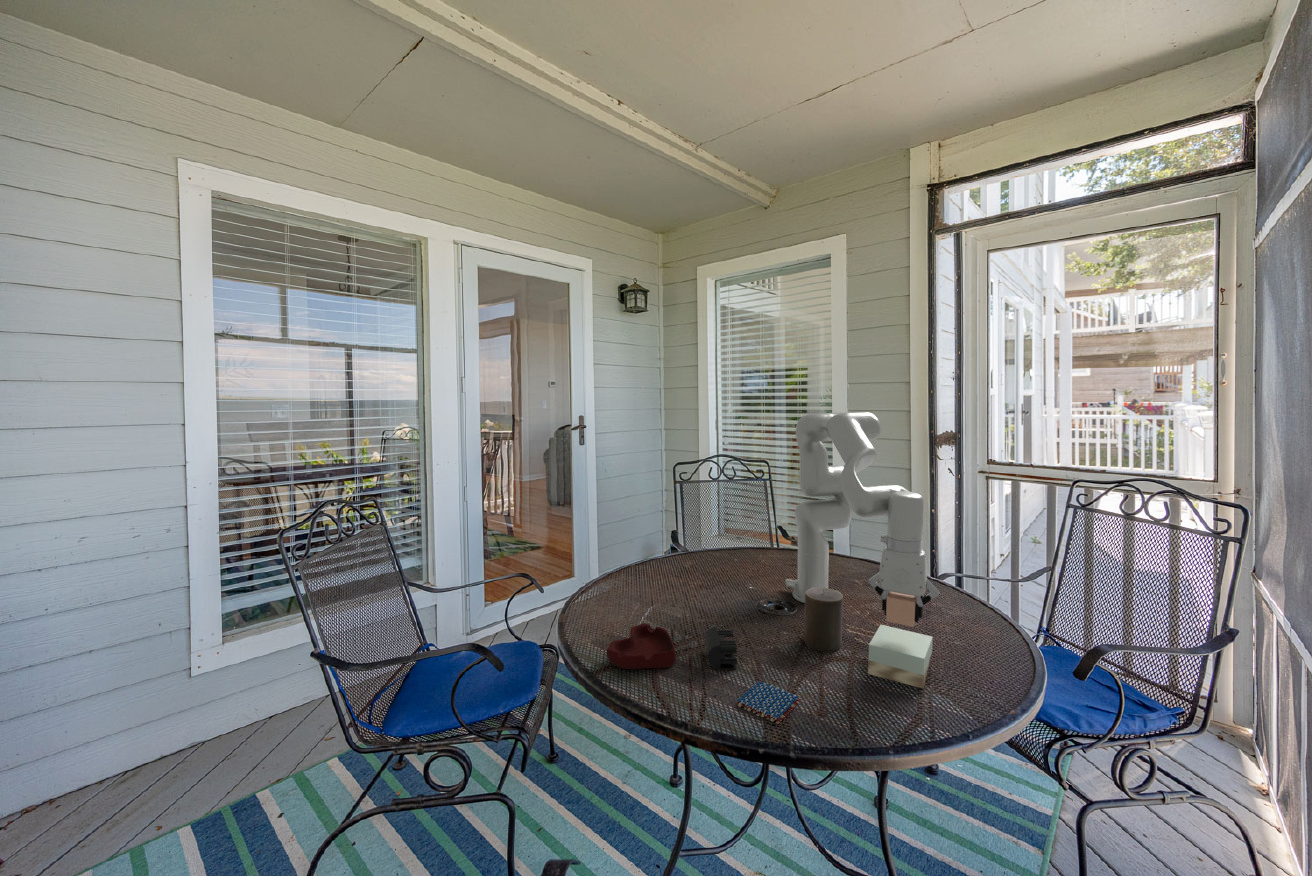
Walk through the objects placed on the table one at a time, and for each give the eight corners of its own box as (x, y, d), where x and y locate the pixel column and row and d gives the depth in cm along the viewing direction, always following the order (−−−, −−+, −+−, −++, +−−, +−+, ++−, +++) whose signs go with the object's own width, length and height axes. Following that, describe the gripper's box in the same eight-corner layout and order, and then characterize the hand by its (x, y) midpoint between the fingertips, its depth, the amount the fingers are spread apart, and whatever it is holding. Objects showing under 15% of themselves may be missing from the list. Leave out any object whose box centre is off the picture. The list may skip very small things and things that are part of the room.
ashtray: (656, 686, 126) (656, 666, 125) (601, 667, 135) (600, 648, 134) (692, 652, 141) (691, 634, 140) (640, 637, 150) (639, 620, 149)
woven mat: (779, 728, 111) (779, 719, 110) (735, 708, 118) (735, 699, 117) (802, 704, 118) (802, 695, 118) (759, 686, 125) (759, 678, 125)
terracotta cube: (885, 621, 128) (886, 597, 128) (890, 611, 133) (891, 588, 132) (913, 627, 125) (914, 602, 124) (917, 617, 130) (918, 593, 129)
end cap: (705, 650, 141) (704, 626, 140) (732, 650, 141) (732, 626, 140) (708, 671, 131) (707, 645, 131) (737, 671, 131) (736, 645, 130)
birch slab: (867, 676, 129) (868, 660, 128) (877, 653, 139) (877, 639, 139) (923, 691, 123) (923, 674, 122) (929, 666, 133) (929, 651, 132)
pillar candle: (822, 655, 138) (824, 599, 136) (796, 639, 146) (797, 586, 144) (849, 646, 142) (851, 592, 140) (822, 631, 151) (824, 579, 149)
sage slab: (868, 660, 129) (868, 644, 128) (880, 639, 138) (880, 624, 138) (923, 675, 122) (924, 658, 121) (932, 652, 132) (932, 636, 131)
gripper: (862, 543, 129) (860, 614, 131) (943, 555, 119) (940, 632, 121) (869, 534, 135) (867, 603, 137) (947, 545, 125) (943, 619, 127)
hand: (901, 616), depth 129 cm, fingers closed on terracotta cube, 6 cm apart
